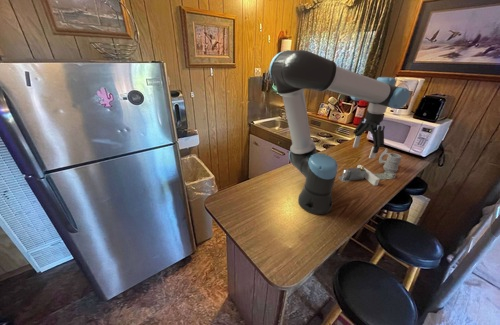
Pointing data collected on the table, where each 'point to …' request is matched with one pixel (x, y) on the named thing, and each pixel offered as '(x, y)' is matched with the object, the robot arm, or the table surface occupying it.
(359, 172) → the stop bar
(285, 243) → the table surface
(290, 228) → the table surface
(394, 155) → the mug
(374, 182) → the door edge
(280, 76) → the robot arm
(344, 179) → the grey knobbed fixture
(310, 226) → the table surface
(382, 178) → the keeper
